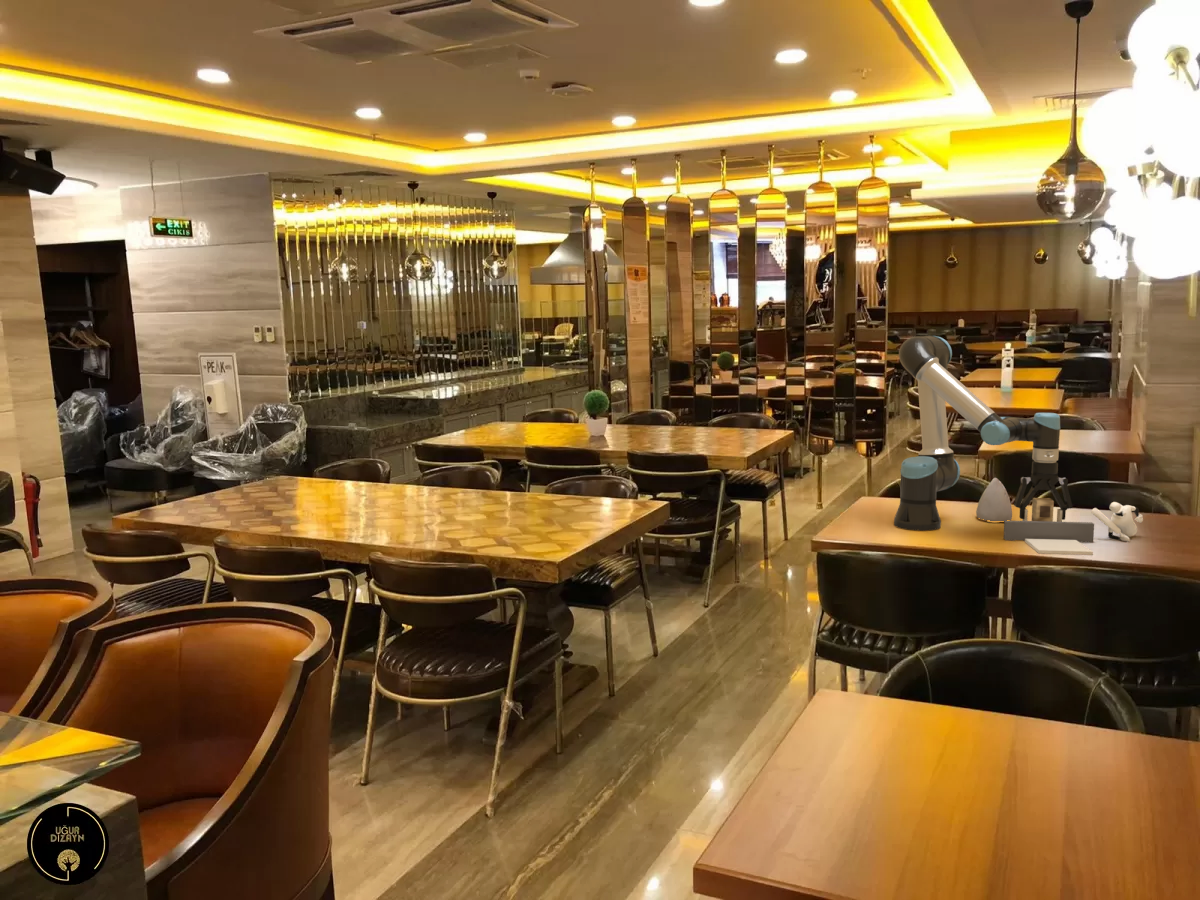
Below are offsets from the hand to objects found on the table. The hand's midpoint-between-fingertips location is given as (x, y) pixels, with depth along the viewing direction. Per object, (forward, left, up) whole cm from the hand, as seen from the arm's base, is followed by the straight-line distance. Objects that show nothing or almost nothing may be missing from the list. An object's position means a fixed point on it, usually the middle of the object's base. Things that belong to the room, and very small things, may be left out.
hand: (1041, 529), depth 295 cm
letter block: (0, 0, -2) cm, 2 cm away
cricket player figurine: (+23, -2, -2) cm, 23 cm away
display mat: (0, -17, -2) cm, 17 cm away
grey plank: (0, -7, -2) cm, 7 cm away
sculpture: (-9, +24, -2) cm, 26 cm away
